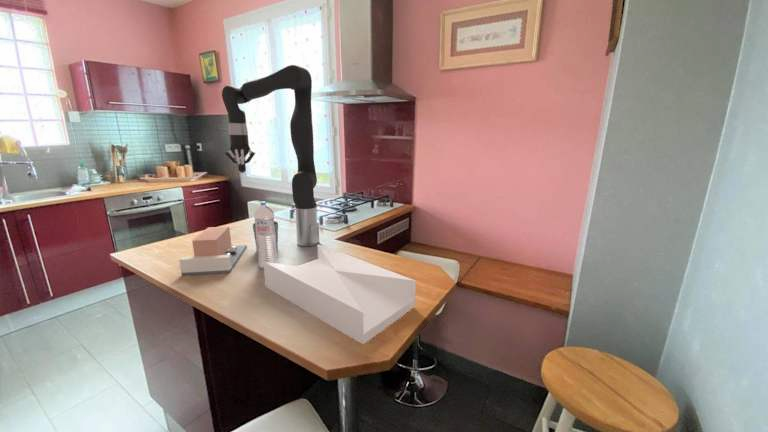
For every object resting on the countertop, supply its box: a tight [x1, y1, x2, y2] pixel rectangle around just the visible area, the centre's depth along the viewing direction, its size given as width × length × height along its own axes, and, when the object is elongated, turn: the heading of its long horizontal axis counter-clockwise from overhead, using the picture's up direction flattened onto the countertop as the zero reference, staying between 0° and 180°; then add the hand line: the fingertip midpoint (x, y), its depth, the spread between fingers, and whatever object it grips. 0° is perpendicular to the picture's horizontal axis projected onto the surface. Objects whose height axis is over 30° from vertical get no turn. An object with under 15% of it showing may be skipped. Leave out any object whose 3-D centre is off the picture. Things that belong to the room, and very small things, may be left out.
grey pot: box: [252, 220, 279, 251], centre depth 135 cm, size 10×10×12 cm
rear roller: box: [225, 245, 237, 254], centre depth 128 cm, size 13×3×3 cm
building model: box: [263, 243, 417, 345], centre depth 98 cm, size 45×22×10 cm, turn 50°
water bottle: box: [253, 201, 278, 270], centre depth 118 cm, size 7×7×25 cm
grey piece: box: [178, 244, 248, 276], centre depth 124 cm, size 26×16×6 cm, turn 10°
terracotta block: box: [191, 226, 232, 256], centre depth 121 cm, size 16×8×8 cm, turn 10°
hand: (242, 172), depth 146 cm, fingers closed
